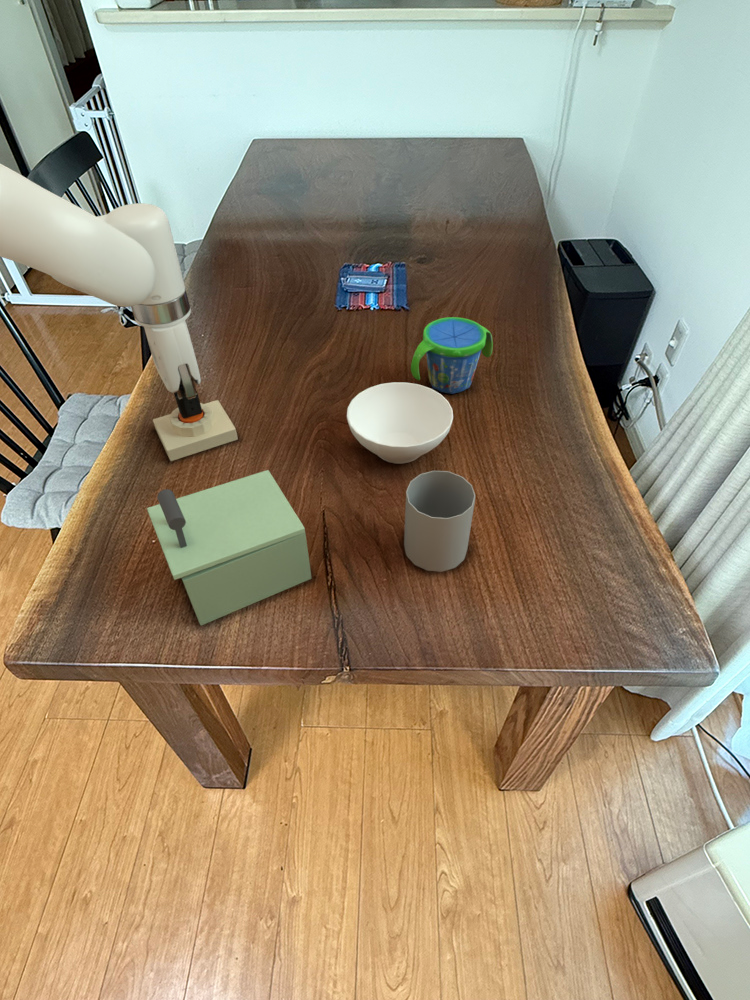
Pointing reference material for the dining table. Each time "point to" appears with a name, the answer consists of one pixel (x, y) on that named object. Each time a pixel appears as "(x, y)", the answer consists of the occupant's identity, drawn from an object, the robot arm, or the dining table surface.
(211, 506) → the lid
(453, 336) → the snack cup
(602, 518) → the dining table surface
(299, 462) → the dining table surface
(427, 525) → the cup
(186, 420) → the button
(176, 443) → the panel
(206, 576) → the green hinged box
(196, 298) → the dining table surface
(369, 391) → the bowl
